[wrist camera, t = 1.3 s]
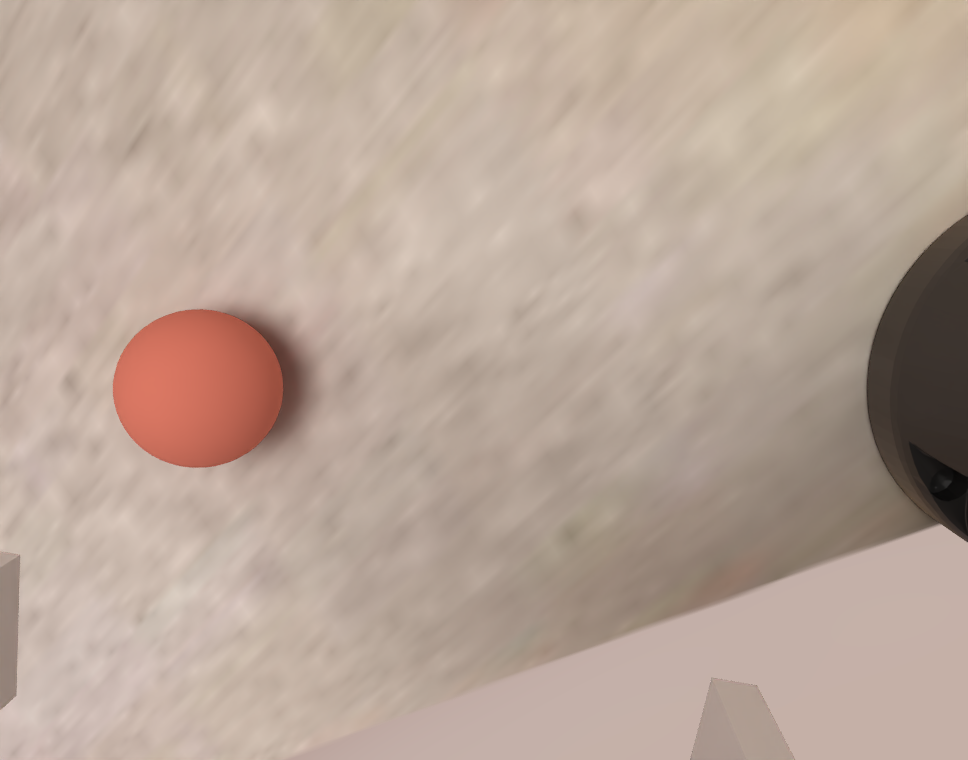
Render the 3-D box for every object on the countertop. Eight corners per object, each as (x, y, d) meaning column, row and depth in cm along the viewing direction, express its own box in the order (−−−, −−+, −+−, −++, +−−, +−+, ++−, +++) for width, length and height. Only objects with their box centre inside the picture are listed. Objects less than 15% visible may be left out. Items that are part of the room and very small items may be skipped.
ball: (310, 315, 30) (257, 336, 24) (294, 452, 31) (240, 504, 25) (168, 290, 30) (81, 305, 24) (158, 427, 31) (73, 474, 25)
